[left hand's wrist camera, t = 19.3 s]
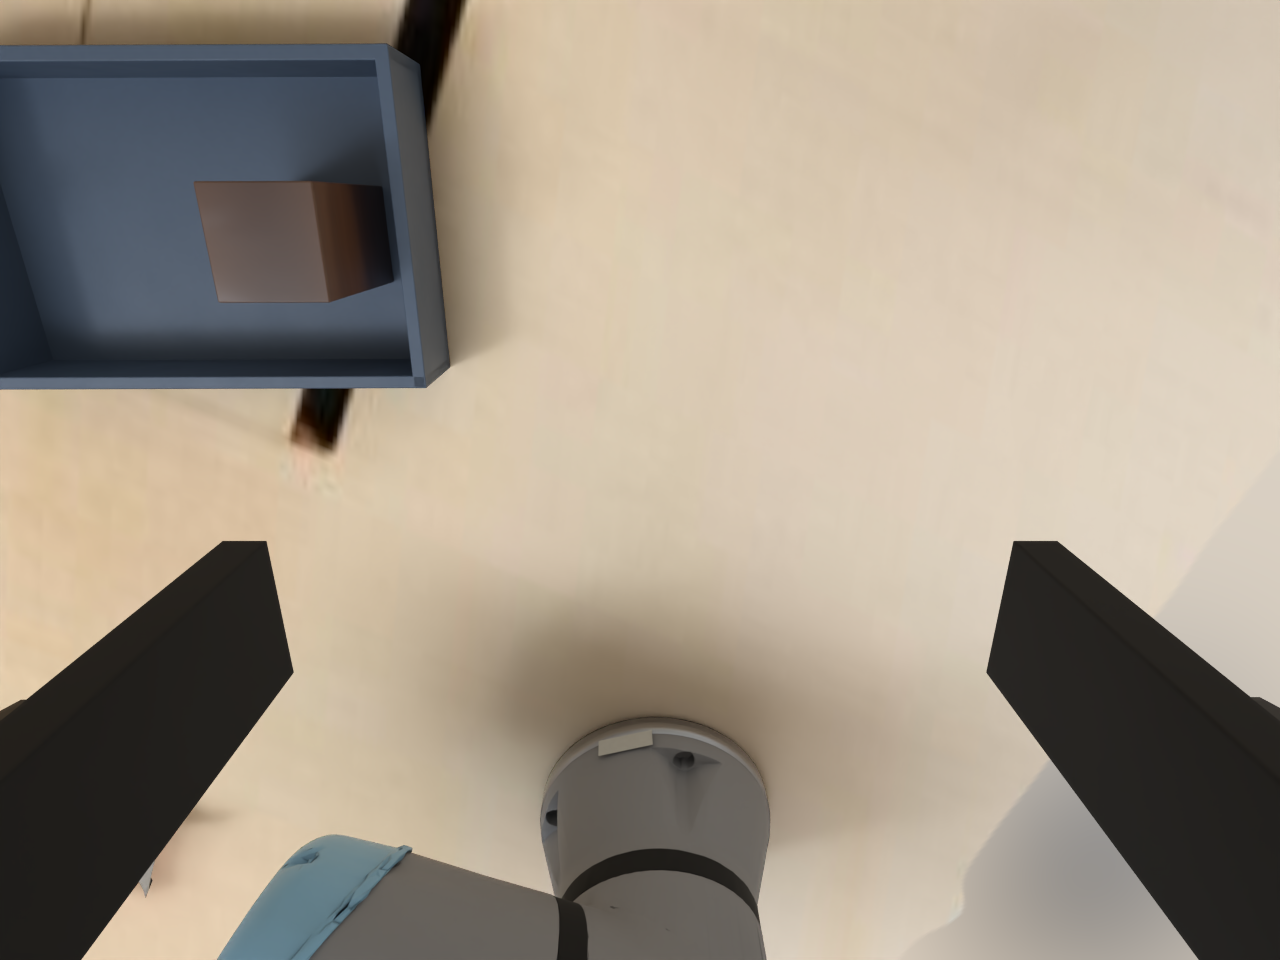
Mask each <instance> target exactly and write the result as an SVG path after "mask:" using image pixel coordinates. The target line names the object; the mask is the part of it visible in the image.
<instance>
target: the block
mask: <svg viewBox="0 0 1280 960" xmlns="http://www.w3.org/2000/svg"><path fill="white" fill-rule="evenodd" d="M194 188H195V193H196V198H197V203H198V207H199V212H200V217H201V222H202V227H203V231H204V236H205V241H206V246H207V251H208V255H209V260H210V265H211V270H212V274H213V279H214V284H215V289H216V294H217V298H218V302H220V303H329V302H333V301H336V300H339V299H342V298H345V297H348V296H351V295H355V294H358V293H361V292H364V291H367V290H370V289H374V288H377V287H380V286H383V285H386V284H389V283H392V282H393V281H394V280H393V272H392V264H391V256H390V247H389V239H388V231H387V223H386V214H385V206H384V198H383V190H382V186H376V185H361V184H347V183H333V182H319V181H194Z"/></svg>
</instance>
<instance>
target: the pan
mask: <svg viewBox="0 0 1280 960" xmlns="http://www.w3.org/2000/svg"><path fill="white" fill-rule="evenodd" d="M194 181H319V182H333V183H347V184H361V185H376V186H382V190H383V198H384V206H385V214H386V223H387V231H388V239H389V247H390V256H391V264H392V272H393V280H394V281H393V282H392V283H389V284H386V285H383V286H380V287H377V288H374V289H370V290H367V291H364V292H361V293H358V294H355V295H351V296H348V297H345V298H342V299H339V300H336V301H333V302H329V303H220V302H218V298H217V294H216V289H215V284H214V279H213V274H212V270H211V265H210V260H209V255H208V251H207V246H206V241H205V236H204V231H203V227H202V222H201V217H200V212H199V207H198V203H197V198H196V193H195V188H194ZM449 368H450V361H449V351H448V341H447V331H446V321H445V311H444V301H443V291H442V281H441V271H440V261H439V251H438V241H437V231H436V221H435V211H434V201H433V191H432V181H431V171H430V161H429V151H428V141H427V131H426V121H425V111H424V101H423V91H422V81H421V71H420V64H418V63H417V62H415V61H414V60H412V59H410V58H409V57H407V56H406V55H404V54H403V53H401V52H399V51H398V50H396V49H395V48H393V47H392V46H390V45H388V44H178V45H0V389H260V388H427V387H428V386H429V385H430V384H431V383H432V382H434V381H435V380H436V379H437V378H438V377H439V376H441V375H442V374H443V373H444V372H445V371H446V370H447V369H449Z"/></svg>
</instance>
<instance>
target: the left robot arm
mask: <svg viewBox="0 0 1280 960" xmlns="http://www.w3.org/2000/svg"><path fill="white" fill-rule="evenodd" d="M293 673H294V672H293V667H292V662H291V657H290V653H289V648H288V643H287V638H286V633H285V629H284V624H283V619H282V614H281V609H280V604H279V600H278V595H277V590H276V585H275V580H274V576H273V571H272V566H271V561H270V556H269V551H268V547H267V542H266V541H222V542H221V543H220V544H219V545H217V546H216V547H215V548H214V549H212V550H211V551H210V552H209V553H207V554H206V555H205V556H204V557H202V558H201V559H200V560H199V561H198V562H196V563H195V564H194V565H193V566H191V567H190V568H189V569H188V570H186V571H185V572H184V573H183V574H181V575H180V576H179V577H178V578H176V579H175V580H174V581H173V582H172V583H170V584H169V585H168V586H167V587H165V588H164V589H163V590H162V591H160V592H159V593H158V594H157V595H155V596H154V597H153V598H152V599H150V600H149V601H148V602H147V603H146V604H144V605H143V606H142V607H141V608H139V609H138V610H137V611H136V612H134V613H133V614H132V615H131V616H129V617H128V618H127V619H126V620H124V621H123V622H122V623H121V624H120V625H118V626H117V627H116V628H115V629H113V630H112V631H111V632H110V633H108V634H107V635H106V636H105V637H103V638H102V639H101V640H100V641H99V642H97V643H96V644H95V645H94V646H92V647H91V648H90V649H89V650H87V651H86V652H85V653H84V654H82V655H81V656H80V657H79V658H77V659H76V660H75V661H74V662H73V663H71V664H70V665H69V666H68V667H66V668H65V669H64V670H63V671H61V672H60V673H59V674H58V675H56V676H55V677H54V678H53V679H51V680H50V681H49V682H48V683H47V684H45V685H44V686H43V687H42V688H40V689H39V690H38V691H37V692H35V693H34V694H33V695H32V696H30V697H29V698H28V699H27V700H20V701H18V702H16V703H14V704H12V705H11V706H9V707H7V708H5V709H3V710H1V711H0V960H81V959H82V958H83V957H84V955H85V954H86V953H87V951H88V950H89V948H90V947H91V946H92V944H93V943H94V942H95V940H96V939H97V938H98V936H99V935H100V934H101V932H102V931H103V930H104V928H105V927H106V925H107V924H108V923H109V921H110V920H111V919H112V917H113V916H114V915H115V913H116V912H117V911H118V909H119V908H120V907H121V905H122V904H123V903H124V901H125V900H126V898H127V897H128V896H129V894H130V893H131V892H132V890H133V889H134V888H135V886H136V885H137V884H138V882H139V881H140V880H141V878H142V877H143V875H144V874H145V873H146V871H147V870H148V869H149V867H150V866H151V865H152V863H153V862H154V861H155V859H156V858H157V857H158V855H159V854H160V852H161V851H162V850H163V848H164V847H165V846H166V844H167V843H168V842H169V840H170V839H171V838H172V836H173V835H174V834H175V832H176V831H177V829H178V828H179V827H180V825H181V824H182V823H183V821H184V820H185V819H186V817H187V816H188V815H189V813H190V812H191V811H192V809H193V808H194V807H195V805H196V804H197V802H198V801H199V800H200V798H201V797H202V796H203V794H204V793H205V792H206V790H207V789H208V788H209V786H210V785H211V784H212V782H213V781H214V779H215V778H216V777H217V775H218V774H219V773H220V771H221V770H222V769H223V767H224V766H225V765H226V763H227V762H228V761H229V759H230V758H231V756H232V755H233V754H234V752H235V751H236V750H237V748H238V747H239V746H240V744H241V743H242V742H243V740H244V739H245V738H246V736H247V735H248V733H249V732H250V731H251V729H252V728H253V727H254V725H255V724H256V723H257V721H258V720H259V719H260V717H261V716H262V715H263V713H264V712H265V710H266V709H267V708H268V706H269V705H270V704H271V702H272V701H273V700H274V698H275V697H276V696H277V694H278V693H279V692H280V690H281V689H282V688H283V686H284V685H285V683H286V682H287V681H288V679H289V678H290V677H291V675H292V674H293ZM986 673H987V674H988V675H989V677H990V678H991V679H992V681H993V682H994V683H995V685H996V686H997V688H998V689H999V690H1000V692H1001V693H1002V694H1003V696H1004V697H1005V698H1006V700H1007V701H1008V702H1009V704H1010V705H1011V706H1012V708H1013V709H1014V711H1015V712H1016V713H1017V715H1018V716H1019V717H1020V719H1021V720H1022V721H1023V723H1024V724H1025V725H1026V727H1027V728H1028V729H1029V731H1030V732H1031V733H1032V735H1033V736H1034V738H1035V739H1036V740H1037V742H1038V743H1039V744H1040V746H1041V747H1042V748H1043V750H1044V751H1045V752H1046V754H1047V755H1048V756H1049V758H1050V759H1051V760H1052V762H1053V763H1054V765H1055V766H1056V767H1057V769H1058V770H1059V771H1060V773H1061V774H1062V775H1063V777H1064V778H1065V779H1066V781H1067V782H1068V784H1069V785H1070V786H1071V788H1072V789H1073V790H1074V792H1075V793H1076V794H1077V796H1078V797H1079V798H1080V800H1081V801H1082V802H1083V804H1084V805H1085V807H1086V808H1087V809H1088V811H1089V812H1090V813H1091V815H1092V816H1093V817H1094V819H1095V820H1096V821H1097V823H1098V824H1099V825H1100V827H1101V828H1102V829H1103V831H1104V832H1105V834H1106V835H1107V836H1108V838H1109V839H1110V840H1111V842H1112V843H1113V844H1114V846H1115V847H1116V848H1117V850H1118V851H1119V852H1120V854H1121V855H1122V857H1123V858H1124V859H1125V861H1126V862H1127V863H1128V865H1129V866H1130V867H1131V869H1132V870H1133V871H1134V873H1135V874H1136V875H1137V877H1138V878H1139V879H1140V881H1141V882H1142V884H1143V885H1144V886H1145V888H1146V889H1147V890H1148V892H1149V893H1150V894H1151V896H1152V897H1153V898H1154V900H1155V901H1156V903H1157V904H1158V905H1159V907H1160V908H1161V909H1162V910H1163V912H1164V913H1165V915H1166V916H1167V917H1168V919H1169V920H1170V921H1171V923H1172V924H1173V925H1174V927H1175V928H1176V930H1177V931H1178V932H1179V934H1180V935H1181V936H1182V938H1183V939H1184V940H1185V942H1186V943H1187V944H1188V946H1189V947H1190V948H1191V950H1192V951H1193V953H1194V954H1195V955H1196V957H1197V958H1198V959H1199V960H1280V708H1279V707H1277V706H1275V705H1273V704H1271V703H1270V702H1268V701H1266V700H1264V699H1262V698H1260V697H1250V696H1248V695H1247V694H1246V693H1245V692H1243V691H1242V690H1241V689H1240V688H1238V687H1237V686H1236V685H1235V684H1233V683H1232V682H1231V681H1230V680H1229V679H1227V678H1226V677H1225V676H1223V675H1222V674H1221V673H1220V672H1219V671H1217V670H1216V669H1215V668H1214V667H1212V666H1211V665H1210V664H1209V663H1207V662H1206V661H1205V660H1204V659H1203V658H1201V657H1200V656H1199V655H1198V654H1196V653H1195V652H1194V651H1193V650H1191V649H1190V648H1189V647H1188V646H1186V645H1185V644H1184V643H1183V642H1181V641H1180V640H1179V639H1178V638H1177V637H1175V636H1174V635H1173V634H1172V633H1170V632H1169V631H1168V630H1167V629H1165V628H1164V627H1163V626H1162V625H1160V624H1159V623H1158V622H1157V621H1155V620H1154V619H1153V618H1152V617H1151V616H1149V615H1148V614H1147V613H1146V612H1144V611H1143V610H1142V609H1141V608H1139V607H1138V606H1137V605H1136V604H1134V603H1133V602H1132V601H1131V600H1130V599H1128V598H1127V597H1126V596H1125V595H1123V594H1122V593H1121V592H1120V591H1118V590H1117V589H1116V588H1115V587H1113V586H1112V585H1111V584H1110V583H1108V582H1107V581H1106V580H1105V579H1104V578H1102V577H1101V576H1100V575H1099V574H1097V573H1096V572H1095V571H1094V570H1092V569H1091V568H1090V567H1089V566H1087V565H1086V564H1085V563H1084V562H1082V561H1081V560H1080V559H1079V558H1078V557H1076V556H1075V555H1074V554H1073V553H1071V552H1070V551H1069V550H1068V549H1066V548H1065V547H1064V546H1063V545H1061V544H1060V543H1059V542H1058V541H1014V542H1013V547H1012V551H1011V556H1010V561H1009V566H1008V571H1007V576H1006V580H1005V585H1004V590H1003V595H1002V600H1001V604H1000V609H999V614H998V619H997V624H996V629H995V633H994V638H993V643H992V648H991V653H990V657H989V662H988V667H987V672H986ZM540 822H541V836H542V843H543V848H544V852H545V856H546V861H547V865H548V869H549V873H550V878H551V882H552V886H553V891H554V895H555V896H553V895H551V894H547V893H544V892H540V891H537V890H533V889H530V888H526V887H523V886H519V885H516V884H512V883H509V882H505V881H502V880H498V879H495V878H491V877H488V876H484V875H481V874H478V873H475V872H472V871H468V870H465V869H462V868H459V867H456V866H452V865H449V864H446V863H443V862H439V861H436V860H433V859H430V858H427V857H423V856H420V855H417V854H414V853H411V852H412V848H411V847H408V846H405V845H403V846H400V847H398V848H395V847H391V846H387V845H382V844H378V843H374V842H370V841H365V840H361V839H357V838H353V837H349V836H344V835H327V836H323V837H320V838H317V839H315V840H313V841H311V842H309V843H308V844H306V845H304V846H303V847H302V848H300V849H299V850H298V851H297V852H296V853H295V854H294V855H293V856H291V857H290V858H289V860H288V861H287V862H286V863H285V864H284V865H283V866H282V867H281V869H280V870H279V871H278V872H277V874H276V875H275V876H274V877H273V879H272V880H271V881H270V883H269V884H268V885H267V887H266V888H265V889H264V891H263V892H262V893H261V895H260V896H259V898H258V899H257V900H256V902H255V903H254V905H253V906H252V907H251V909H250V910H249V912H248V913H247V915H246V916H245V918H244V919H243V921H242V922H241V924H240V925H239V927H238V928H237V930H236V931H235V933H234V934H233V936H232V937H231V939H230V940H229V942H228V943H227V945H226V946H225V948H224V949H223V951H222V952H221V954H220V956H219V957H218V959H217V960H767V959H766V954H765V948H764V942H763V936H762V931H761V926H760V920H759V914H758V907H757V903H758V898H759V892H760V886H761V881H762V875H763V870H764V864H765V858H766V852H767V846H768V841H769V835H770V811H769V805H768V800H767V795H766V791H765V787H764V783H763V780H762V777H761V775H760V773H759V771H758V769H757V767H756V766H755V764H754V763H753V761H752V760H751V759H750V757H749V756H748V755H747V754H746V753H745V752H744V751H743V750H742V749H741V748H740V747H739V746H738V745H737V744H736V743H734V742H733V741H731V740H730V739H729V738H727V737H726V736H724V735H722V734H720V733H719V732H717V731H715V730H712V729H710V728H708V727H705V726H703V725H700V724H697V723H693V722H689V721H685V720H680V719H673V718H657V717H651V718H638V719H631V720H626V721H622V722H618V723H615V724H611V725H608V726H606V727H603V728H601V729H599V730H596V731H594V732H592V733H591V734H589V735H587V736H585V737H584V738H582V739H581V740H579V741H578V742H577V743H575V744H574V745H573V746H572V747H570V748H569V749H568V750H567V751H566V752H565V753H564V754H563V756H562V757H561V758H560V759H559V760H558V762H557V763H556V765H555V766H554V768H553V769H552V771H551V773H550V776H549V778H548V780H547V783H546V786H545V791H544V796H543V802H542V808H541V818H540Z"/></svg>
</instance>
